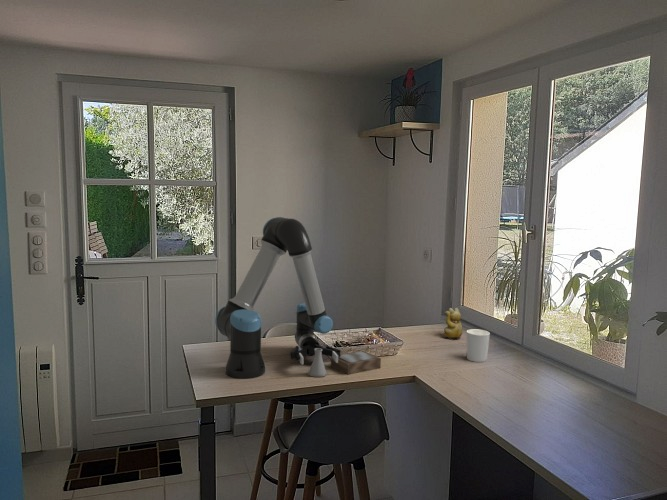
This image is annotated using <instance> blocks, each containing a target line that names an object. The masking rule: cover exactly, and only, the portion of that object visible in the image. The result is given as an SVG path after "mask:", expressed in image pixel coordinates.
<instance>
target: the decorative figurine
mask: <svg viewBox="0 0 667 500" xmlns="http://www.w3.org/2000/svg"><path fill="white" fill-rule="evenodd" d="M444 314H445V315H446V318H445V323H446V325H447V327H445V328H444V329H443V337H445V338H446V337H448V338H447V339H449V338H450V339H449V340H451V339H453V340H458V339H457V338H459V339H460V338H461V337H462V335H463V326H462V323H461V319H462V314H461V313H460V310H459V308H458V307H455V308H454V309H453V308H452V307H449V308H448V310H446V311H444Z"/></svg>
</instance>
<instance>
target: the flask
mask: <svg viewBox="0 0 667 500" xmlns="http://www.w3.org/2000/svg"><path fill="white" fill-rule="evenodd" d="M314 351H315V355H314V357H313V360H312V363H311V365H310V369H309V371H308V375H309V376H310V377H315V378H321V377H322V378H323V377H325V376H327V375H328V373H327V369H326V367H325V364H324V361H323V355H322V349H321V348H315V349H314Z"/></svg>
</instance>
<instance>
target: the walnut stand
mask: <svg viewBox="0 0 667 500" xmlns="http://www.w3.org/2000/svg"><path fill="white" fill-rule="evenodd" d="M381 360H382V359H381V358H380V357H379V356H376V355H374V354H371V353H369V352H367V351H364V350H362V351H355V352H349V353H343V354H341V355H340V357H339V358H338V363H336V362H335V361H334V359H333V358H332V357H331V356H330V366H331V368H332V367H333V368H334V369H335V370H338V371H340V372H341V373H344V374H346V375H352V374H358V373H362V372H363V373H364V372H367V371H373V370H377V369H381V366H382V365H381V362H382V361H381Z"/></svg>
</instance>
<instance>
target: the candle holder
mask: <svg viewBox="0 0 667 500" xmlns="http://www.w3.org/2000/svg"><path fill="white" fill-rule="evenodd" d="M490 335H491V333H490V331H487V330H485V329H480V328H479V329H476V328H474V329H472V328H471V329H467V330H466V359H467V360H468V361H471V362H475V363H484V362H487V360H488V354H489V353H488V352H489V344H490Z"/></svg>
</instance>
